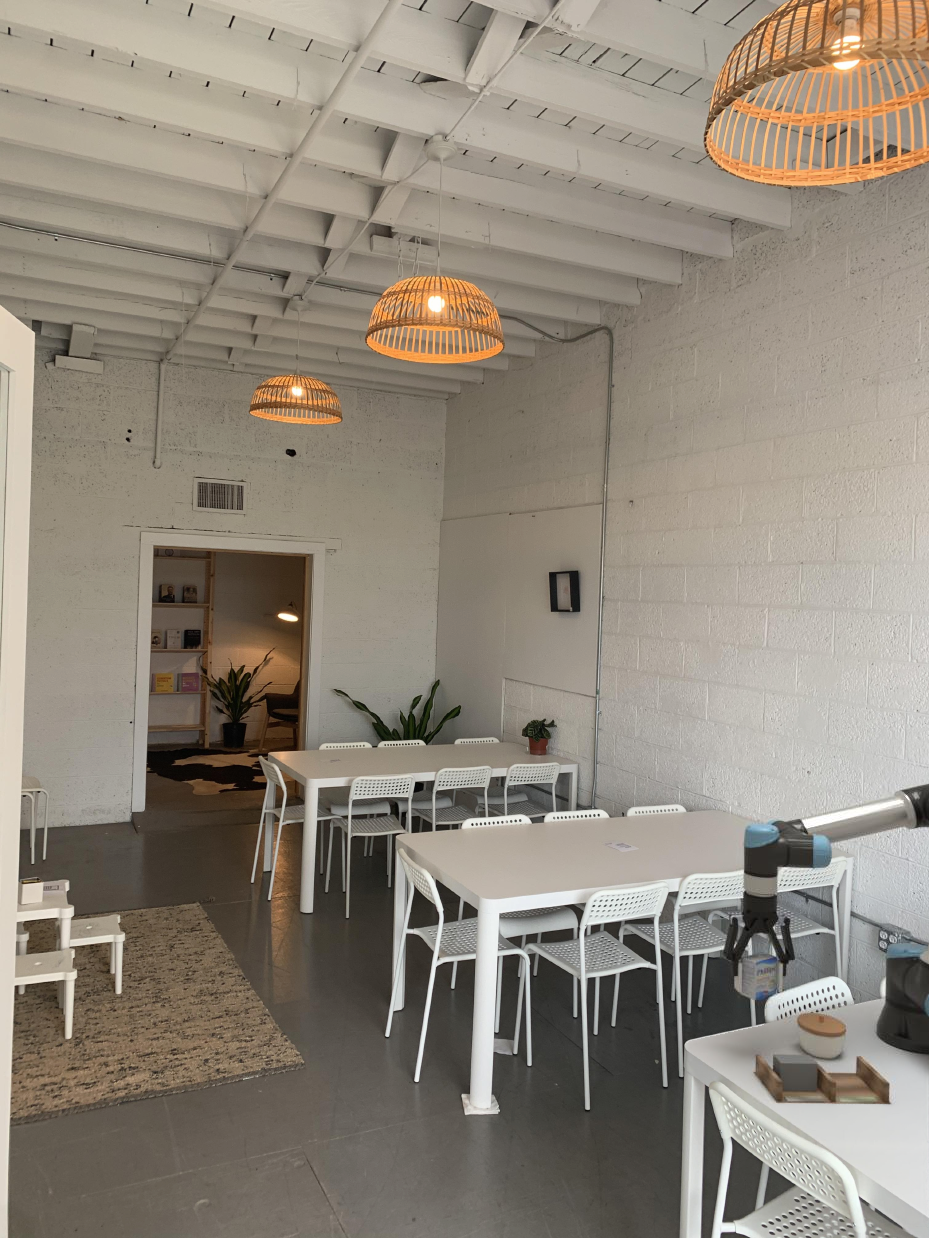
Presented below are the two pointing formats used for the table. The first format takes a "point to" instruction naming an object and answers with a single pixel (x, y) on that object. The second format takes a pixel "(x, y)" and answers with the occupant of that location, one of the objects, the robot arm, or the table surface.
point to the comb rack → (830, 1085)
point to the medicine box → (759, 975)
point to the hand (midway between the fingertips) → (758, 989)
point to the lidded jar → (821, 1035)
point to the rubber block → (796, 1072)
